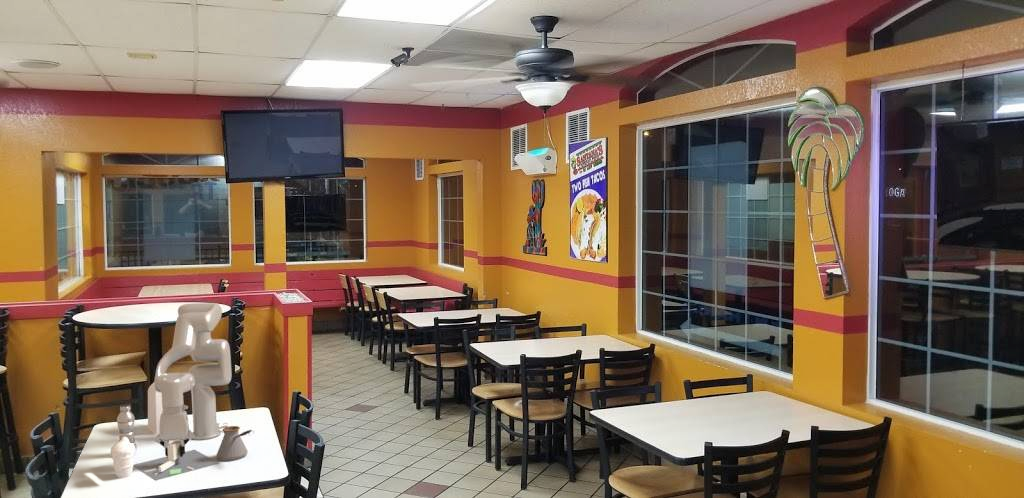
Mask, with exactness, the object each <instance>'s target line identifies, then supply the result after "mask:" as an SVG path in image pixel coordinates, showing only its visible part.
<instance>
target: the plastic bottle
mask: <svg viewBox="0 0 1024 498" xmlns="http://www.w3.org/2000/svg"><path fill="white" fill-rule="evenodd" d="M131 409H132V408H131V405H130V404H124V405H120V406H119V411H120V412H119V414H118V416H117V418H116V423H117V427H118V435H119V436H118V437H119V438H118V442H119V441H120V440H121V439H122V438H123V437H127V438H128V439H129V442H130V443H131V444H133V445H134V446H135V448H136V450H135V452H137V447H138V446H137V443H136V439H135V416H134V415H135V414H134V413H132V412H131Z"/></svg>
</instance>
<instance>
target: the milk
mask: <svg viewBox="0 0 1024 498" xmlns="http://www.w3.org/2000/svg"><path fill="white" fill-rule="evenodd" d="M161 414H162V394H161V393H160V392H158V391H156V389H155V386H154V382H153V383H151V385H149V387H148V389H147V430H149V431H150V432H152V433H153V434H155V435H156V436H157V435H158V434H159V426H160V416H161Z"/></svg>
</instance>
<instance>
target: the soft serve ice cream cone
mask: <svg viewBox="0 0 1024 498" xmlns="http://www.w3.org/2000/svg"><path fill="white" fill-rule="evenodd" d="M135 450H136V451H137V447H136V448H135V446H134V445H133V444H131V443H130V442H129V439H128V438H127V437H123V438H122V439H121V440H120V441H119V440H118V441H117V443H116V444H114V445H113V446H112V447H111V448H110V452H109V453H110V455H111V456H112V460H113V461H112V462H113V468H114V471H115V474H116V478H117V479H126V478H129V477H131V476H133V475H132V474H133V470H134V469H133V468H134V466H133V465H134V464H135V463H134V459H135V458H134V456H135V452H136V451H135Z"/></svg>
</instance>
